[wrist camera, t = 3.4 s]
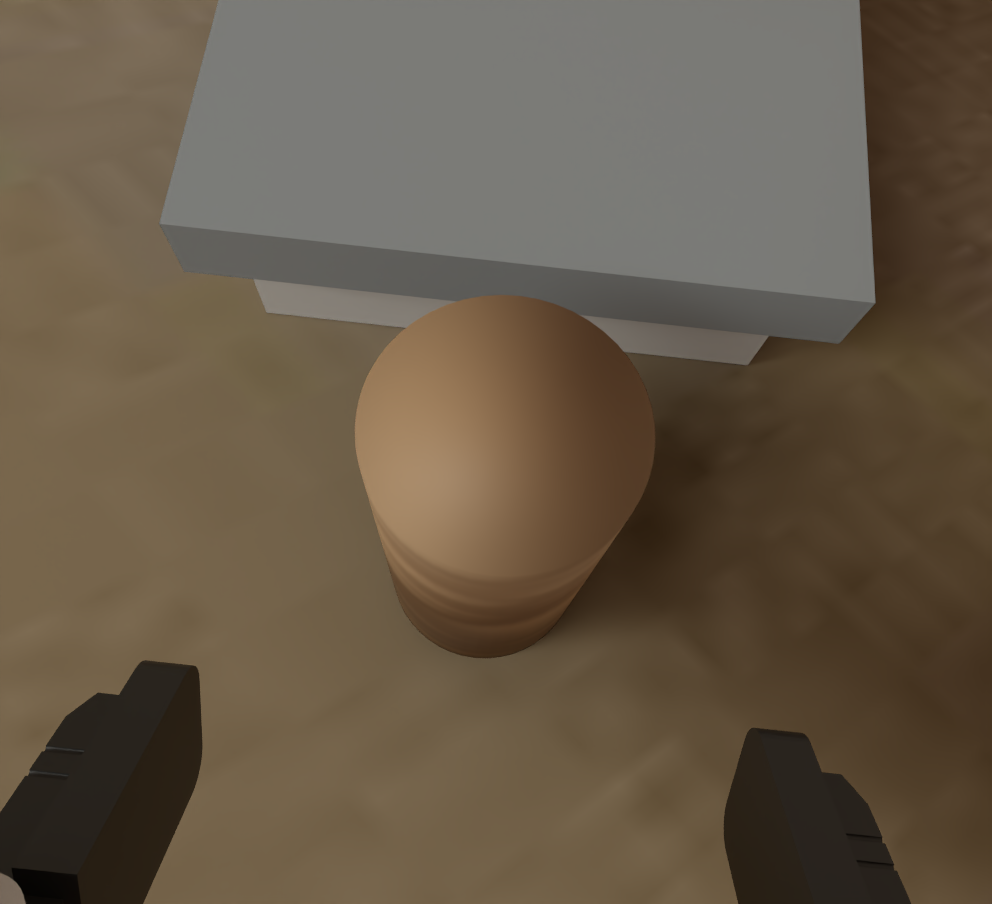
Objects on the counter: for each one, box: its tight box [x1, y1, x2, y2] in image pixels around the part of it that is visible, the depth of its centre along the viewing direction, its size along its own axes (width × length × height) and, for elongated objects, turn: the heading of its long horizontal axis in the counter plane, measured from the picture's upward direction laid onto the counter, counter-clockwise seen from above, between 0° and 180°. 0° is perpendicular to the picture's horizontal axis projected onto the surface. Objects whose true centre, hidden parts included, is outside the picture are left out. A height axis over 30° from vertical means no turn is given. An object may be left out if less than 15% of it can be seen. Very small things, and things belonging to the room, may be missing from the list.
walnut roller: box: [355, 295, 655, 658], centre depth 19 cm, size 5×5×10 cm
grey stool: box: [159, 0, 875, 365], centre depth 25 cm, size 16×13×6 cm
